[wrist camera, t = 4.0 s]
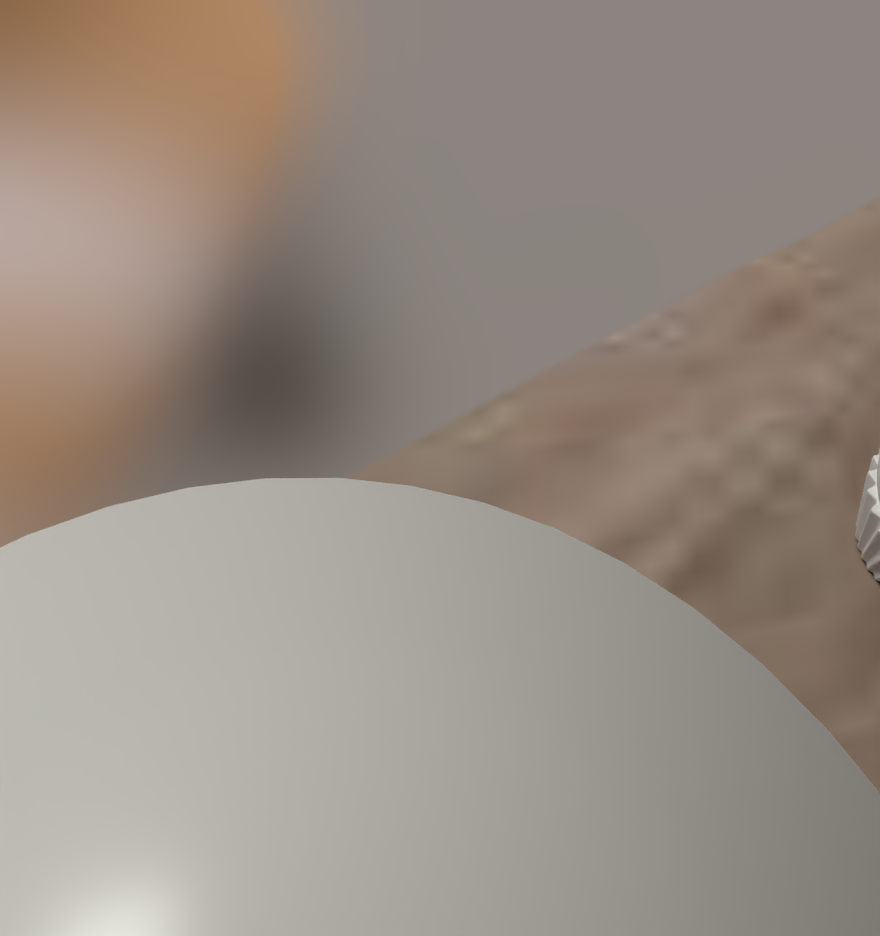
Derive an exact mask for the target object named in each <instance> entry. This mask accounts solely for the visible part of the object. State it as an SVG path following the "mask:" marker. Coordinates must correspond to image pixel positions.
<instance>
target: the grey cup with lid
mask: <svg viewBox="0 0 880 936" xmlns="http://www.w3.org/2000/svg"><path fill="white" fill-rule="evenodd" d="M0 936H880V793H879V791H878V790H877V789H876V788H875V786H874V785H873V784H872V783H871V782H870V780H869V779H868V778H867V777H866V775H865V774H864V773H863V772H862V771H861V769H860V768H859V767H858V766H857V764H856V763H855V762H854V761H853V760H852V758H851V757H850V756H849V755H848V754H847V752H846V751H845V750H844V749H843V747H842V746H841V745H840V744H839V743H838V741H837V740H836V739H835V738H834V736H833V735H832V734H831V733H830V732H829V730H828V729H827V728H826V727H825V726H824V725H823V724H822V723H821V722H820V721H819V720H818V719H817V718H816V717H815V716H814V715H813V714H812V713H811V712H810V711H809V710H808V709H807V708H806V707H805V706H804V705H803V704H802V703H801V702H800V701H799V700H798V699H797V698H796V697H795V696H794V695H793V694H792V693H791V692H790V691H789V690H788V689H787V688H786V687H785V686H784V685H783V684H782V683H781V682H780V681H779V680H778V679H777V678H776V677H775V676H774V675H773V674H772V673H771V672H770V671H769V670H768V669H767V668H766V667H765V666H764V665H763V664H762V663H761V662H759V661H758V660H757V659H756V658H754V657H753V656H752V655H751V654H750V653H748V652H747V651H746V650H745V649H743V648H742V647H741V646H740V645H738V644H737V643H736V642H735V641H734V640H732V639H731V638H730V637H729V636H727V635H726V634H725V633H724V632H723V631H721V630H720V629H719V628H718V627H716V626H715V625H714V624H713V623H711V622H710V621H709V620H708V619H707V618H705V617H704V616H703V615H702V614H700V613H699V612H698V611H697V610H695V609H694V608H693V607H691V606H690V605H688V604H687V603H685V602H684V601H682V600H681V599H679V598H678V597H676V596H674V595H673V594H671V593H670V592H668V591H667V590H665V589H664V588H662V587H661V586H659V585H658V584H656V583H654V582H653V581H651V580H650V579H648V578H647V577H645V576H644V575H642V574H641V573H639V572H637V571H636V570H634V569H633V568H631V567H630V566H628V565H627V564H625V563H623V562H621V561H619V560H617V559H615V558H613V557H611V556H609V555H607V554H605V553H603V552H601V551H599V550H597V549H595V548H593V547H591V546H589V545H587V544H585V543H583V542H581V541H579V540H577V539H575V538H573V537H571V536H569V535H567V534H565V533H563V532H561V531H559V530H557V529H555V528H553V527H550V526H547V525H544V524H542V523H539V522H536V521H533V520H530V519H528V518H525V517H522V516H519V515H517V514H514V513H511V512H508V511H505V510H503V509H500V508H497V507H494V506H492V505H489V504H486V503H483V502H479V501H474V500H470V499H466V498H462V497H457V496H453V495H449V494H444V493H440V492H436V491H431V490H427V489H423V488H418V487H414V486H407V485H398V484H389V483H380V482H371V481H362V480H353V479H344V478H286V479H285V478H279V479H278V478H277V479H256V480H248V481H240V482H232V483H224V484H216V485H207V486H199V487H191V488H185V489H181V490H177V491H173V492H168V493H164V494H160V495H156V496H151V497H147V498H143V499H139V500H134V501H130V502H126V503H122V504H117V505H113V506H109V507H106V508H103V509H100V510H97V511H95V512H92V513H89V514H86V515H83V516H80V517H77V518H75V519H72V520H69V521H66V522H63V523H60V524H58V525H55V526H52V527H49V528H46V529H44V530H40V531H38V532H35V533H32V534H29V535H26V536H24V537H22V538H20V539H18V540H16V541H13V542H11V543H9V544H7V545H5V546H3V547H1V548H0Z"/></svg>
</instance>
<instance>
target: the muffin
mask: <svg viewBox="0 0 880 936" xmlns="http://www.w3.org/2000/svg"><path fill="white" fill-rule="evenodd" d="M856 529H857V530H856V534H855V537H856V539H857V540H858V541H859V542H858V545H857V548H858V549H859V550H860V551H861V553H862V555H861V559H862V560H864V561H865V562H866V564H867V570H869V571H871V572H872V573H873V574H874V579H875V580H877V581H879V582H880V449H879V453H878V455H874V456H873V457H872V460H871V464H870V468H869V472H868V473H867V476H866V481H865V485H864V490H863V494H862V499H861V504H860V509H859V514H858V518H857V522H856Z"/></svg>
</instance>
